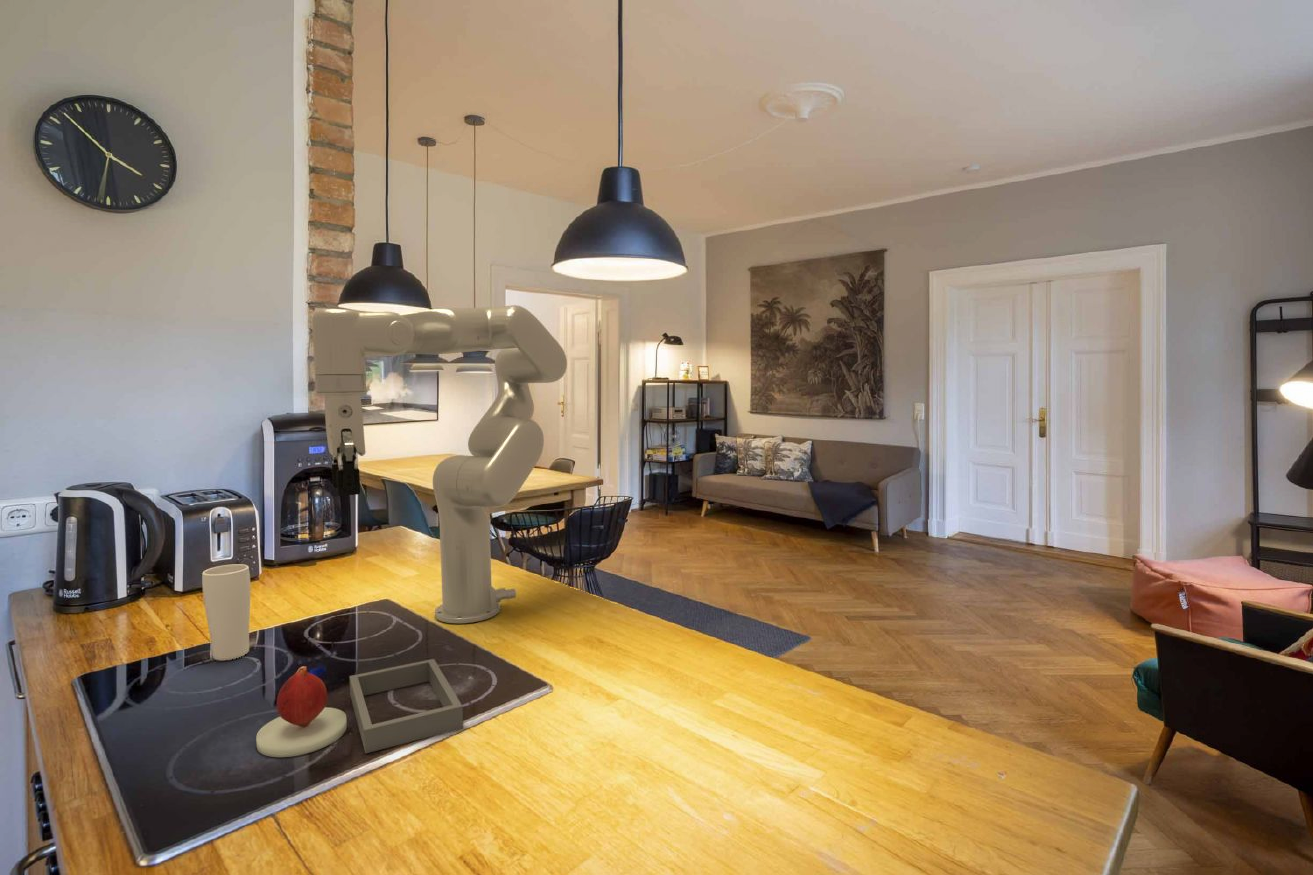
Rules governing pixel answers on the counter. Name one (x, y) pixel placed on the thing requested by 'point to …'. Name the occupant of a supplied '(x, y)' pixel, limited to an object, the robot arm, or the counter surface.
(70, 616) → the counter surface
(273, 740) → the cream oval pebble
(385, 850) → the counter surface
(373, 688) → the crate
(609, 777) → the counter surface
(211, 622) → the drinking glass
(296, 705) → the onion
